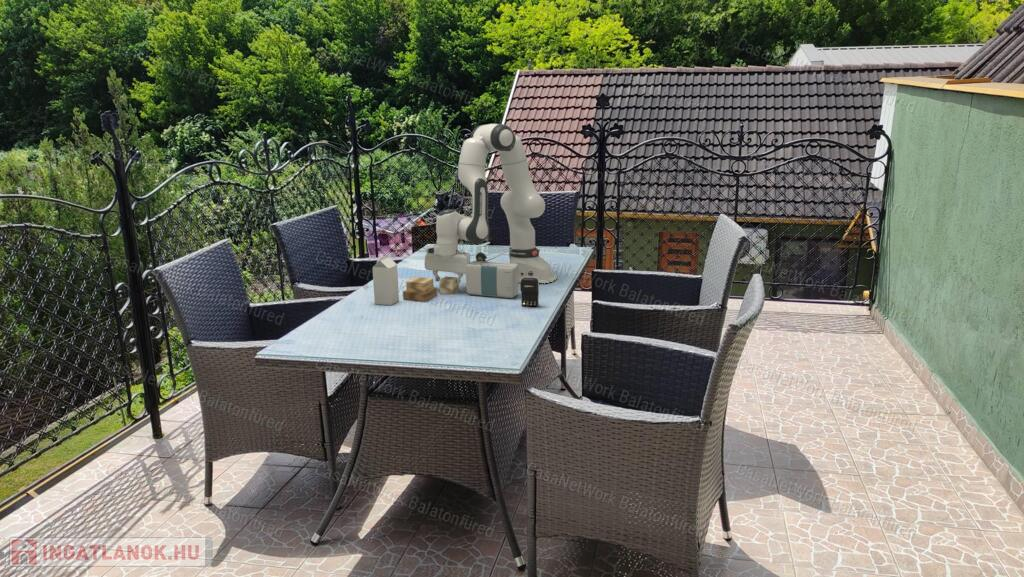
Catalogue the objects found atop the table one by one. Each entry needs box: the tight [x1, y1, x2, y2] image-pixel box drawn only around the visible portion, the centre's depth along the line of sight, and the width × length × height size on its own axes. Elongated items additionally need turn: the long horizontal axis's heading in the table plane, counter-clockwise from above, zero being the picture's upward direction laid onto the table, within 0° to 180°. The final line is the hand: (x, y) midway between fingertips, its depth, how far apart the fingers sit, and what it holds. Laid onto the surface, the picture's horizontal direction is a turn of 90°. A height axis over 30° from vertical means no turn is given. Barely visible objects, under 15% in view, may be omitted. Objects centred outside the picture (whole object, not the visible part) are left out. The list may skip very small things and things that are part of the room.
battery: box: [519, 277, 540, 307], centre depth 265 cm, size 7×4×11 cm, turn 76°
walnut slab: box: [402, 286, 438, 303], centre depth 280 cm, size 10×10×4 cm
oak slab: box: [405, 276, 435, 293], centre depth 279 cm, size 8×8×4 cm
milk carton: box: [372, 253, 400, 306], centre depth 272 cm, size 7×7×19 cm
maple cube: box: [438, 275, 460, 295], centre depth 288 cm, size 6×6×6 cm
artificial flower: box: [463, 252, 488, 276], centre depth 328 cm, size 9×22×10 cm, turn 150°
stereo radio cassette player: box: [465, 248, 519, 299], centre depth 281 cm, size 21×8×20 cm, turn 70°
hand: (447, 282), depth 287 cm, fingers open, 8 cm apart
